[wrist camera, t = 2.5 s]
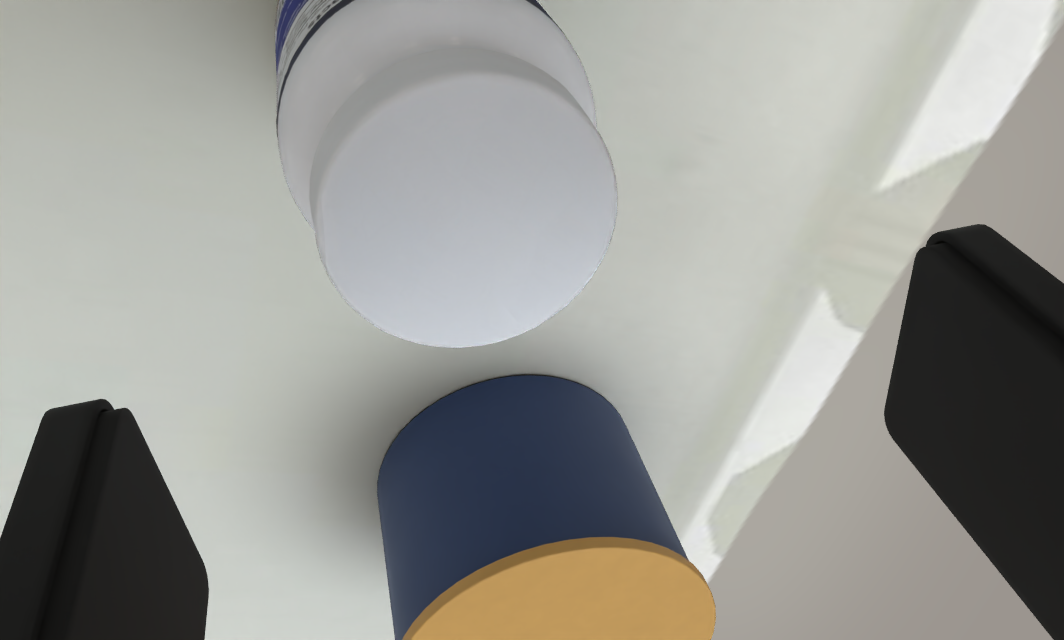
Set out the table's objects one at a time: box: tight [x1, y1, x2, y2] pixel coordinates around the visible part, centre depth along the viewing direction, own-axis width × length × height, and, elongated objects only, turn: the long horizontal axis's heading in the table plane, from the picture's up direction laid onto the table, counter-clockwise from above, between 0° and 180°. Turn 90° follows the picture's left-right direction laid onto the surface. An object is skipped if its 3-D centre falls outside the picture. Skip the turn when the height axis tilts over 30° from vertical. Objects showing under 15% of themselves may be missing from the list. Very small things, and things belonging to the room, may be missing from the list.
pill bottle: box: [275, 0, 618, 348], centre depth 17 cm, size 6×6×10 cm
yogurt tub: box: [377, 375, 716, 640], centre depth 28 cm, size 9×9×7 cm
